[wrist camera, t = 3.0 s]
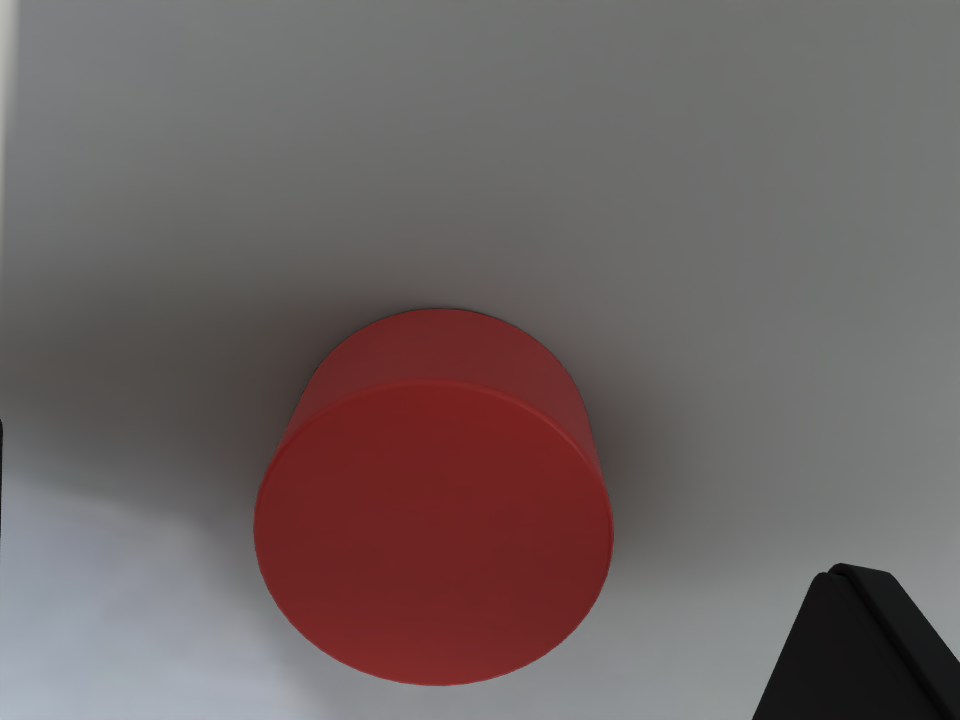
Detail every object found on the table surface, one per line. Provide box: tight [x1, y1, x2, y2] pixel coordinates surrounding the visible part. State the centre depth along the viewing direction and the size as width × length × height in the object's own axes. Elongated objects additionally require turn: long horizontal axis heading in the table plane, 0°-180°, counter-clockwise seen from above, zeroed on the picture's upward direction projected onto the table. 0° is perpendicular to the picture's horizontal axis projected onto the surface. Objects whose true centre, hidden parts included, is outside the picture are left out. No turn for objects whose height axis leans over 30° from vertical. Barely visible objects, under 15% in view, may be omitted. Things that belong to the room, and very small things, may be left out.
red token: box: [253, 309, 614, 686], centre depth 12 cm, size 4×4×3 cm
